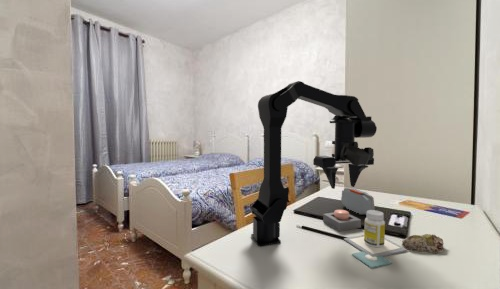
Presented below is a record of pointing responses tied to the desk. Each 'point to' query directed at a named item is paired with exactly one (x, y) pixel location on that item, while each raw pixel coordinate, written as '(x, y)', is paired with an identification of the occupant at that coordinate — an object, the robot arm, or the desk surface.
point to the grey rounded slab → (357, 200)
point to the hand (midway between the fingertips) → (343, 187)
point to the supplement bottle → (374, 228)
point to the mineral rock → (424, 243)
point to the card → (371, 259)
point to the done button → (341, 214)
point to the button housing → (342, 222)
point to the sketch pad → (386, 250)
